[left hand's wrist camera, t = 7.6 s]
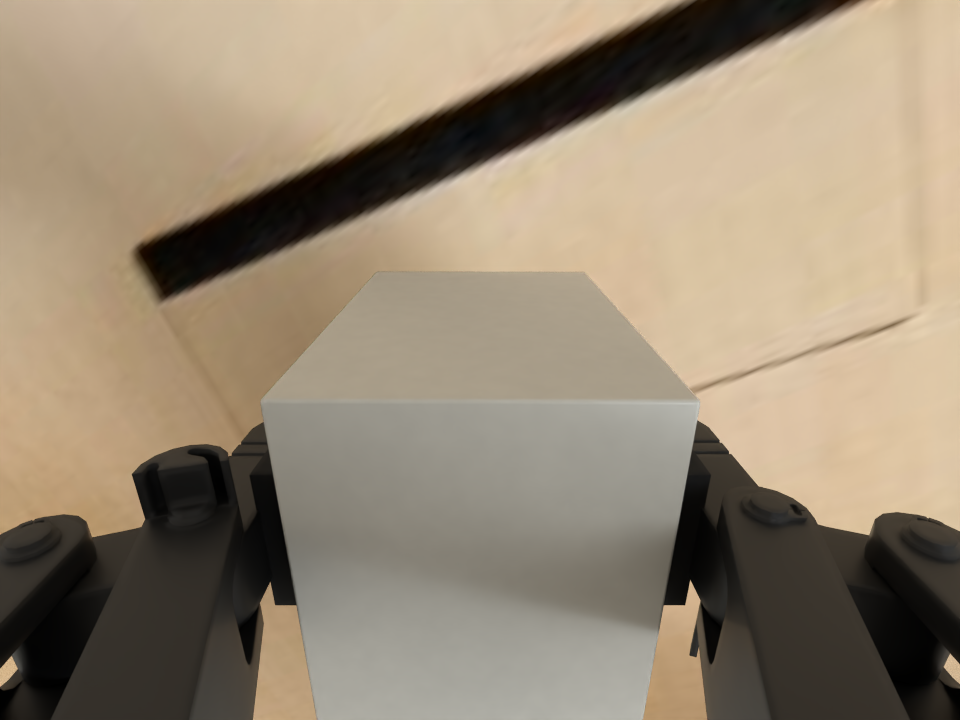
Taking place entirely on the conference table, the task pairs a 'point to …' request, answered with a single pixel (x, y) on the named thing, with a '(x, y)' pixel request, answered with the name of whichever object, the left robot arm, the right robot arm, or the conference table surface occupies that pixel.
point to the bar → (480, 499)
